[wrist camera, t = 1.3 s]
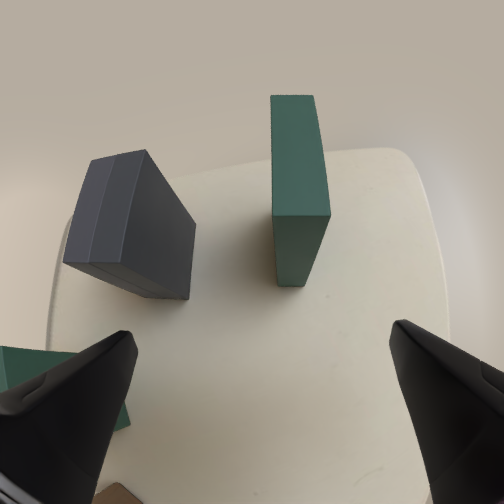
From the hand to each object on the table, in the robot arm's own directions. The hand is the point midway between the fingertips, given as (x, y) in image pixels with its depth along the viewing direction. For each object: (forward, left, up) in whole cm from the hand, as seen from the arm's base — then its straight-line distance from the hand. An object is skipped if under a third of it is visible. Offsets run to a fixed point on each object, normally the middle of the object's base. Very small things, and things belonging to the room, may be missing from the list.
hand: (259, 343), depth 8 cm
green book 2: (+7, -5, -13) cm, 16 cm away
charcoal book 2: (+10, +4, -13) cm, 17 cm away
